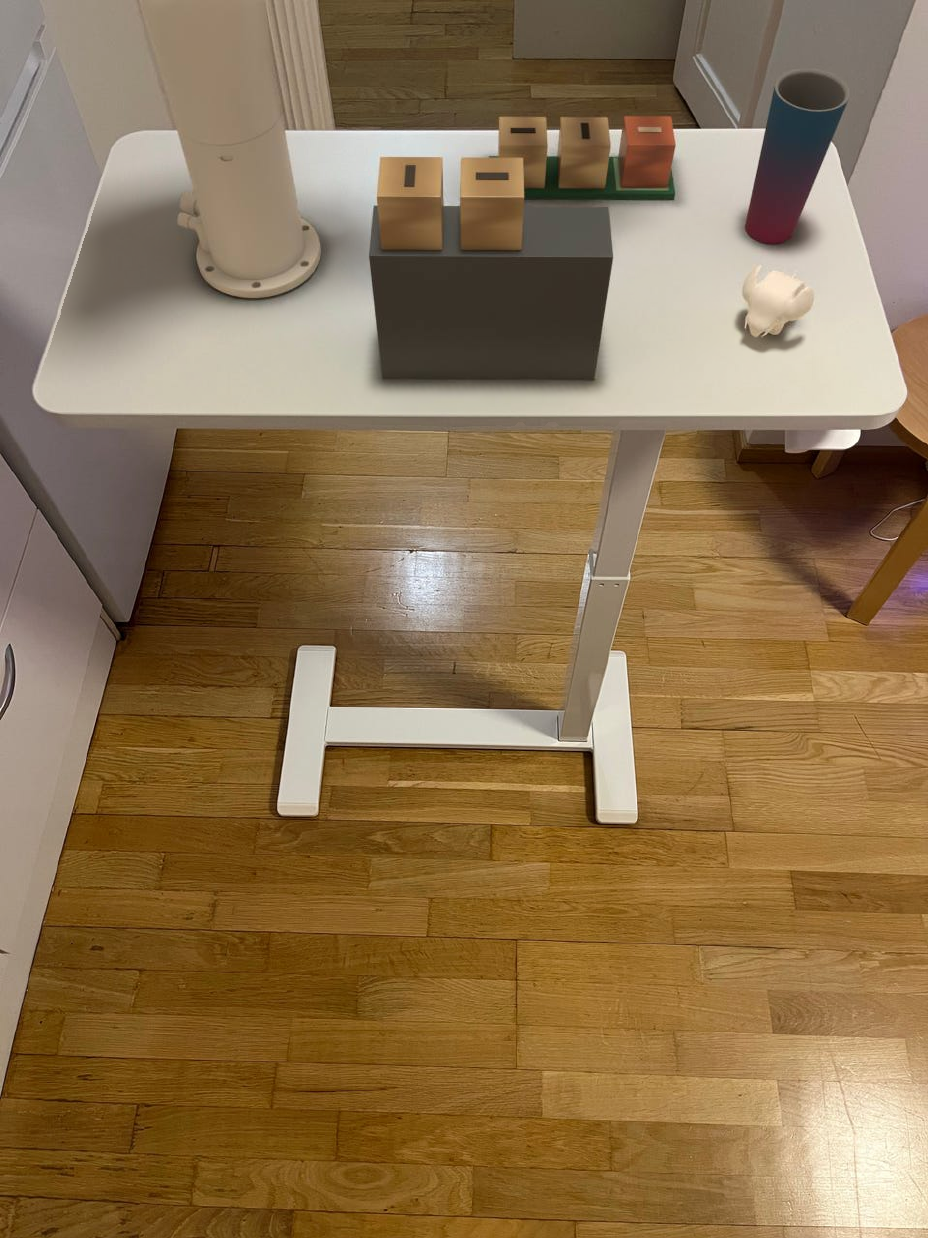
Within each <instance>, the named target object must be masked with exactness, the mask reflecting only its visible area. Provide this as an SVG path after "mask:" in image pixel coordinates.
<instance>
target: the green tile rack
mask: <svg viewBox="0 0 928 1238" xmlns="http://www.w3.org/2000/svg"><path fill="white" fill-rule="evenodd" d="M559 119H560V120H559V131H558V142H557V153H556V155H548V145H549V143H548V125H547V117H546V116H499V117H498V137H497V138H498V140H497V141H498V143H497V155H489V156H488V158H523V168H524V200H615V201H616V200H617V201H618V200H621V201H622V200H623V201H624V200H628V201H629V200H632V201H633V200H634V201H635V200H637V201H638V200H639V201H640V200H641V201H642V200H644V201H648V200H651V201H652V200H653V201H658V200H659V201H663V200H664V201H674V200H675V198H676V190H675V182H674V175H673V169H672V168H671V172H670V177H669V182H668V187H667V188H621V183H620V174H619V165H618V156H610V155H611V154H610V153H611V136H610V126H609V125H610V124H609V117H606V116H560V118H559Z"/></svg>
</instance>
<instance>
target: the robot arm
mask: <svg viewBox="0 0 928 1238" xmlns="http://www.w3.org/2000/svg"><path fill="white" fill-rule="evenodd" d="M138 1H139V5H140V9H141V13H142V16H143V20H144V24H145V27H146V31H147V34H148V37H149V40H150V44H151V47H152V50H153V53H154V56H155V59H156V62H157V63H156V64H157V66H158V69H159V73H160V76H161V80H162V83H163V87H164V90H165V94H166V97H167V101H168V102H167V103H168V105H169V108H170V112H171V116H172V119H173V124H174V126H175V128H176V131H177V136H178V139H179V143H180V145H181V150H182V153H183V156H184V160H185V164H186V168H187V172H188V175H189V179H190V183H191V186H192V190H193V193H192V192H189V191H184V192H183V193H182V194H181V195H180V197H179V208H180V210H181V212H179V213H178V215H177V218H176V223H177V225H178V226H179V227H182V228H186V229H189V230H193V231H195V233H196V234H197V236H198V239H199V240H198V241H199V242H198V244H197V247H196V253H195V257H196V262H197V266H198V269H199V272H200V275H201V276H202V278H203V279H204V280H205V282H206V283H208V284H209V285H210V286H211V287H212V288H214V289H216V290H217V291H219V292H221V293H223V294H227V295H229V296H232V297H238V298H245V299H261V298H269V297H273V296H278V295H281V294H284V293H286V292H289V291H291V290H293V289H295V288H296V287H298V286H300V285H302V284H303V283H304V282H305V281H307V280H308V279H309V278H310V277H311V276H312V275H313V274H314V273H315V271H316V270H317V268H318V266H319V263H320V259H321V257H322V248H321V241H320V238H319V235H318V233H317V231H316V230H315V228H314V227H313V225H312V224H311V223H309V222H308V221H307V220H305V219H304V218H303V217H301V213H300V208H299V203H298V196H297V192H296V191H297V190H296V186H295V185H296V184H295V181H294V180H295V179H294V174H293V169H292V162H291V156H290V150H289V145H288V140H287V134H286V128H285V123H284V117H283V111H282V105H281V101H280V96H279V95H280V94H279V90H278V84H277V78H276V72H275V66H274V59H273V53H272V45H271V37H270V26H269V18H268V17H269V16H268V9H267V3H266V2H267V1H266V0H138ZM194 215H195V216H194ZM196 216H197V217H196Z"/></svg>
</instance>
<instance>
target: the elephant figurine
mask: <svg viewBox="0 0 928 1238" xmlns="http://www.w3.org/2000/svg"><path fill="white" fill-rule="evenodd" d="M761 268H762V265H761V264H759V265H756V266H755V267H753V268H751V271H749V273H748V275H747V276H746V277H745V279H744V282H743V285H742V288H741V289H742V291H741V293H742V298H743V300H744V301H745V302H746V303H747V306H748V311H747V315H746V316H745V319H744V320H745V321H744V329H745V330H746V329H747V325H748V328H749V332H750V335H751V336H753V337H755V338H757V337H759V336H760V334H762V333H764V334H762V335H761V336H760V338H763V337H764V336H766V335H767V334H771V335H773V336H777V335H779V334H780V333H781V332H782V330H783V329H784V326H785V324H787V323H788V322H792V321H796V320H798V319H800V318H802V317H804V316H805V315H807V314H808V313H809V312H811V310H812V307H813V304H814V299H815V294H814V293H815V292H814V291H813V288H812V287H811V286H806V287H805V283H804V282H803V281H802V280H800V279H798V278H796V277H795V276H796V274H798V271H797V270H796V271H794V274H793V275H792V276H791V275H788V274H787V273H785V272H782V271H780V270H777V269H773V270H771V271H770V272H769V273H767V274H766V276H765V277H764V278H763V279H762V280H761V281H759V282H758V278H759V275H760V272H761Z"/></svg>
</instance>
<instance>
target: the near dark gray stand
mask: <svg viewBox="0 0 928 1238" xmlns="http://www.w3.org/2000/svg"><path fill="white" fill-rule="evenodd" d="M443 162H444V161H443V157H442V156H380V157H379V168H378V179H377V189H376V204H377V205H373V209H372V220H371V230H370V231H371V232H370V239H369V252H368V258H369V259H368V260H369V269H370V270H369V271H370V277H371V279H370V280H371V287H372V298H373V305H374V306H373V307H374V315H375V326H376V334H377V344H378V352H379V362H380V363H379V364H380V371H381V379H385V380H387V379H388V380H389V379H390V380H391V379H394V380H396V379H398V380H399V379H400V380H403V379H404V380H518V381H519V380H523V381H525V380H526V381H527V380H529V381H530V380H535V381H536V380H537V381H538V380H539V381H546V380H547V381H561V380H562V381H594V380H595V379H596V372H597V365H598V358H599V353H600V346H601V340H602V339H601V338H602V334H603V333H602V332H603V328H604V319H605V314H606V307H607V300H608V294H609V288H610V281H611V275H612V268H613V261H614V250H613V249H614V248H613V240H612V239H613V238H612V228H611V219H610V209H609V208H610V207H609V206H577V205H576V206H567V205H566V206H563V205H562V206H560V205H559V206H558V205H550V206H545V205H543V206H542V205H541V206H539V205H537V206H536V205H527V206H526V205H525V199H524V168H523V158H489V157H471V156H470V157H467V156H466V157H464V156H463V157H461V158H460V182H459V183H460V184H459V187H460V189H459V205H444V204H445V202H444V201H445V199H444V169H443V168H444V167H443Z"/></svg>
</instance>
